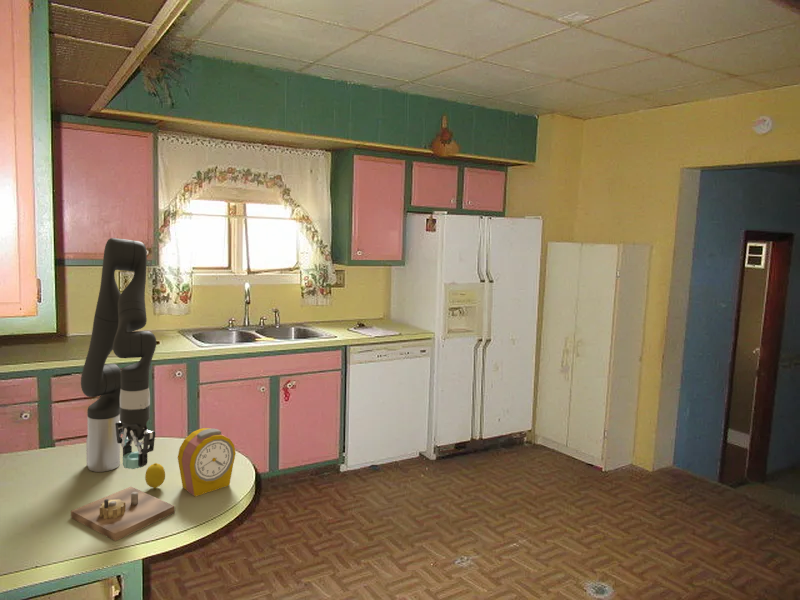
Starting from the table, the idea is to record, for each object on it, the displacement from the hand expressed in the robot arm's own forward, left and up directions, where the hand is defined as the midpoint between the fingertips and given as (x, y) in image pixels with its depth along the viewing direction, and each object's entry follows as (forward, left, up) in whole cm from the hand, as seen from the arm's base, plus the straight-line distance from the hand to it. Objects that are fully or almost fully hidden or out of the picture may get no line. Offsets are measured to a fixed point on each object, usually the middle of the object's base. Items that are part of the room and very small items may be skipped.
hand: (135, 462), depth 163 cm
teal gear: (0, 0, -1) cm, 1 cm away
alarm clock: (+4, +22, -14) cm, 26 cm away
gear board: (0, -3, -14) cm, 15 cm away
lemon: (-7, +12, -14) cm, 20 cm away
